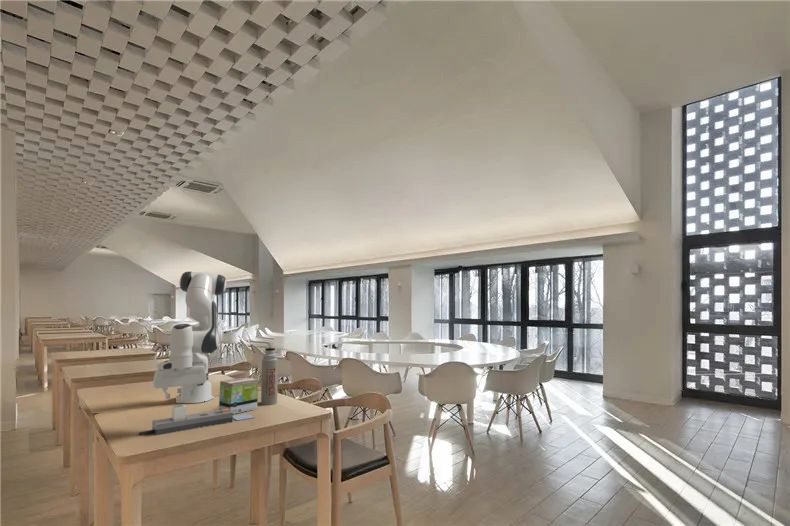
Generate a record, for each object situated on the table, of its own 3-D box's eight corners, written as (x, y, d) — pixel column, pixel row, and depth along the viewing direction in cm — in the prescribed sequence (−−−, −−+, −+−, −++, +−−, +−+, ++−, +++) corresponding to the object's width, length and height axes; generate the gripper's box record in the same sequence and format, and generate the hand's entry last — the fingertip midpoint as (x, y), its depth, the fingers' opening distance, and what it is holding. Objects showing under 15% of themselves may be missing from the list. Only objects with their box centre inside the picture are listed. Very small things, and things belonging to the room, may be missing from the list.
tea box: (230, 415, 208) (231, 383, 209) (218, 412, 214) (219, 380, 216) (258, 409, 220) (258, 378, 221) (245, 406, 226) (246, 376, 227)
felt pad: (230, 417, 205) (230, 416, 205) (248, 414, 210) (248, 413, 210) (237, 421, 199) (237, 420, 199) (254, 418, 204) (254, 417, 204)
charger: (171, 423, 188) (172, 405, 189) (182, 421, 191) (183, 404, 192) (174, 425, 185) (174, 407, 185) (185, 423, 188) (186, 406, 188)
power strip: (136, 432, 182) (137, 420, 182) (226, 418, 204) (226, 407, 204) (140, 437, 176) (140, 425, 176) (232, 421, 198) (232, 410, 198)
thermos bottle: (277, 404, 230) (278, 348, 233) (260, 405, 228) (262, 349, 230) (277, 400, 238) (277, 347, 240) (261, 401, 236) (262, 347, 238)
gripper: (204, 360, 199) (203, 392, 198) (152, 364, 186) (151, 399, 185) (209, 361, 194) (208, 394, 193) (156, 366, 181) (154, 401, 180)
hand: (180, 396), depth 189 cm, fingers open, 8 cm apart
